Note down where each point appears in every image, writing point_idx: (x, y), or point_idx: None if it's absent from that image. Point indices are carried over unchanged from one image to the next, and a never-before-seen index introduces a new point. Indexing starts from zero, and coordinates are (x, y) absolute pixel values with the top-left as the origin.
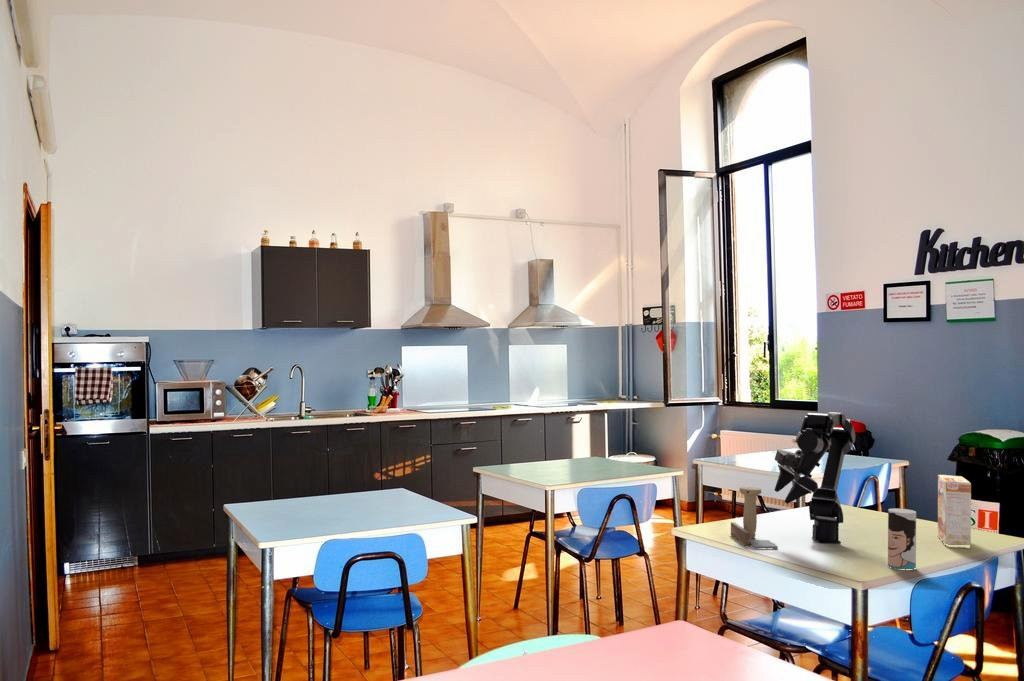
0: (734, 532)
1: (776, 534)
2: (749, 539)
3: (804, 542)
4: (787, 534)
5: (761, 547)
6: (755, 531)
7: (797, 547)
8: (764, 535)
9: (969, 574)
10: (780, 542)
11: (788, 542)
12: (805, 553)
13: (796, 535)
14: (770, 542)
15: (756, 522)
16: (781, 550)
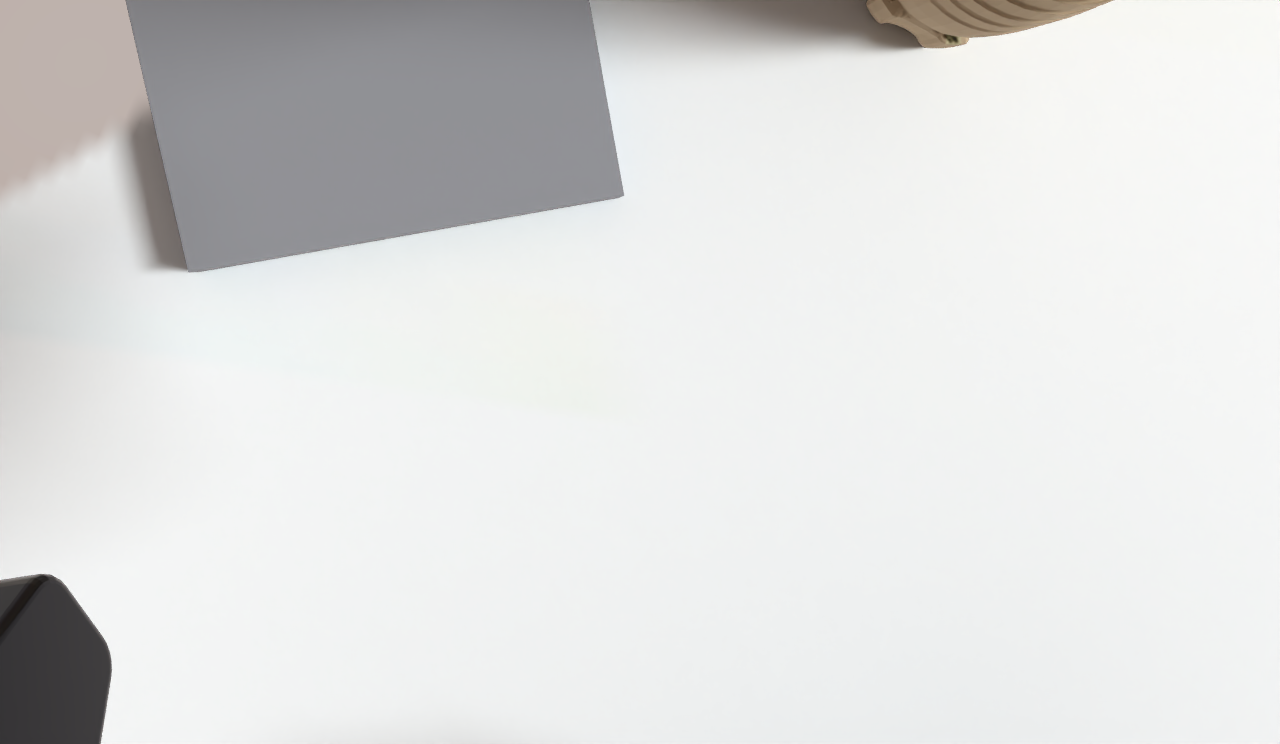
0: None
1: (1206, 403)
2: None
3: (775, 724)
4: (1232, 556)
5: (130, 8)
6: (933, 26)
7: (418, 586)
8: (1113, 220)
9: None
10: (698, 385)
11: (724, 501)
12: None
13: (1191, 670)
14: (460, 201)
15: (1006, 6)
16: (139, 319)
